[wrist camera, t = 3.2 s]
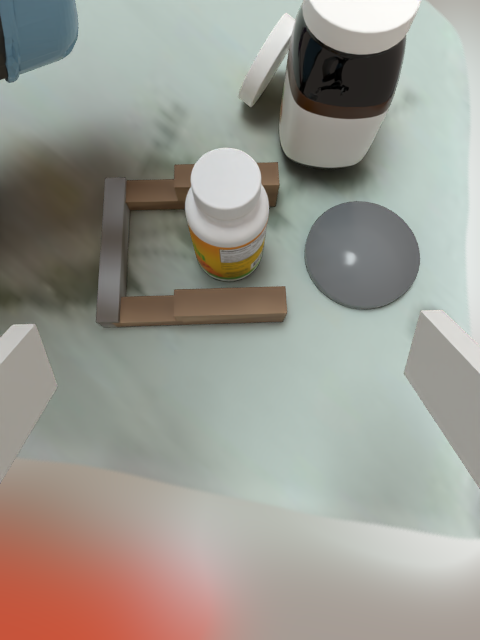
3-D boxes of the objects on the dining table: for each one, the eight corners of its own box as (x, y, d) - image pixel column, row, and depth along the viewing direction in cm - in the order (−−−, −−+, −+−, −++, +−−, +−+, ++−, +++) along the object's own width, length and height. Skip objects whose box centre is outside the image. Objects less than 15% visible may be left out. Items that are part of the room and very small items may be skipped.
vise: (282, 321, 28) (288, 311, 25) (103, 327, 28) (88, 317, 25) (273, 185, 31) (277, 162, 28) (111, 189, 31) (98, 166, 28)
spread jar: (363, 186, 31) (434, 59, 20) (232, 177, 31) (229, 45, 20) (362, 75, 34) (424, -91, 23) (242, 66, 34) (245, -102, 23)
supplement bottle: (188, 231, 30) (167, 148, 21) (251, 215, 31) (257, 126, 21) (205, 290, 29) (190, 231, 19) (270, 272, 29) (286, 206, 20)
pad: (369, 332, 28) (372, 330, 27) (281, 258, 30) (282, 254, 29) (437, 253, 30) (442, 249, 29) (351, 187, 31) (354, 181, 30)
